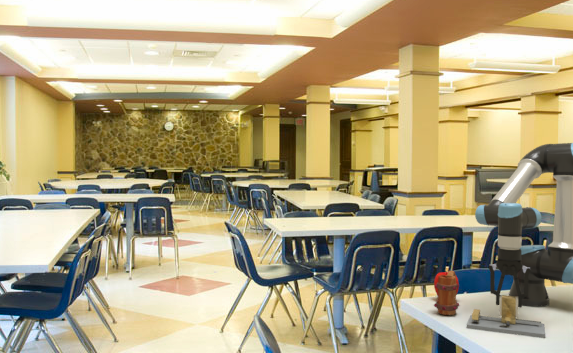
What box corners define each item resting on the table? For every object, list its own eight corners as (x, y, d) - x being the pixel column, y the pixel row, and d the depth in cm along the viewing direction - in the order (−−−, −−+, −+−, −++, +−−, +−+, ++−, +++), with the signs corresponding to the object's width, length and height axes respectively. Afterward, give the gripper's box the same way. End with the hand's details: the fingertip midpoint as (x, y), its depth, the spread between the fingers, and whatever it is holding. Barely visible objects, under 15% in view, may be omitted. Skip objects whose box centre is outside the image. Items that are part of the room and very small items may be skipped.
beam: (541, 325, 178) (541, 316, 178) (541, 331, 171) (541, 322, 171) (472, 317, 187) (472, 308, 187) (470, 323, 181) (470, 313, 181)
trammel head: (515, 320, 183) (516, 296, 183) (515, 327, 175) (515, 302, 175) (502, 319, 185) (502, 295, 184) (500, 325, 177) (501, 300, 177)
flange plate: (544, 327, 181) (544, 323, 181) (545, 338, 169) (545, 334, 169) (470, 318, 191) (470, 314, 191) (466, 328, 179) (466, 324, 179)
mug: (454, 318, 190) (454, 277, 190) (432, 315, 195) (432, 274, 194) (464, 309, 203) (464, 270, 203) (442, 306, 207) (443, 268, 207)
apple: (445, 296, 223) (445, 267, 223) (464, 301, 215) (464, 271, 215) (428, 299, 218) (429, 270, 218) (447, 304, 210) (447, 274, 210)
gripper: (537, 248, 181) (536, 315, 181) (483, 244, 188) (482, 309, 189) (537, 251, 174) (537, 321, 175) (481, 247, 182) (480, 315, 182)
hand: (508, 315), depth 182 cm, fingers closed on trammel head, 4 cm apart
